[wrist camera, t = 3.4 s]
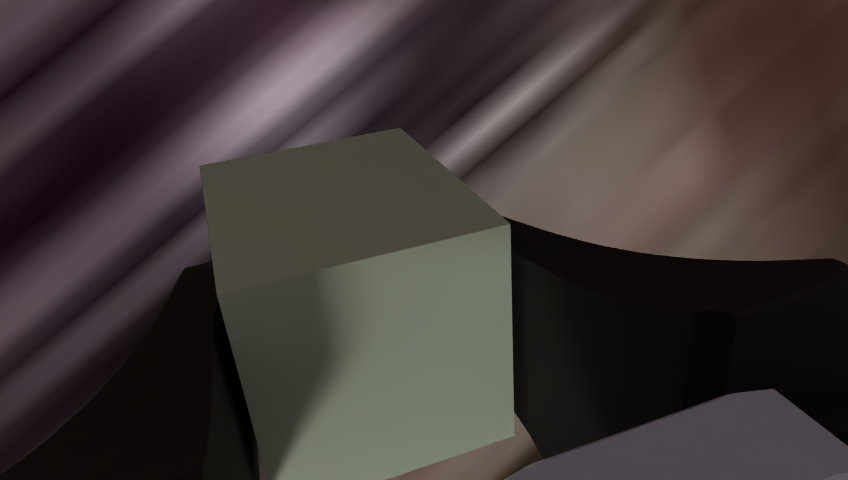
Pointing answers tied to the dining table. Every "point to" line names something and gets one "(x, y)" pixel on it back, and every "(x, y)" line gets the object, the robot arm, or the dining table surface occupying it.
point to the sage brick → (362, 306)
